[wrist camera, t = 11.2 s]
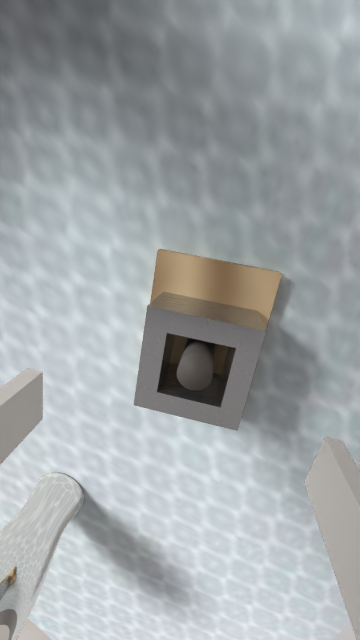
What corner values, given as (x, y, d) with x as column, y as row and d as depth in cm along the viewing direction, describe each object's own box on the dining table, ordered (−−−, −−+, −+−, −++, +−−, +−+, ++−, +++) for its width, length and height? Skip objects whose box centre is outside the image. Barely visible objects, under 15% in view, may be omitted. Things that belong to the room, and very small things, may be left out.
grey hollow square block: (150, 373, 26) (133, 405, 21) (163, 291, 23) (147, 306, 19) (235, 393, 25) (237, 430, 20) (257, 310, 23) (266, 331, 18)
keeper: (140, 389, 28) (113, 439, 21) (161, 249, 23) (135, 255, 17) (238, 413, 27) (243, 473, 20) (279, 271, 23) (302, 287, 16)
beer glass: (93, 513, 34) (2, 709, 20) (44, 512, 36) (-74, 694, 21) (79, 468, 32) (-33, 649, 18) (28, 468, 34) (-114, 637, 20)
